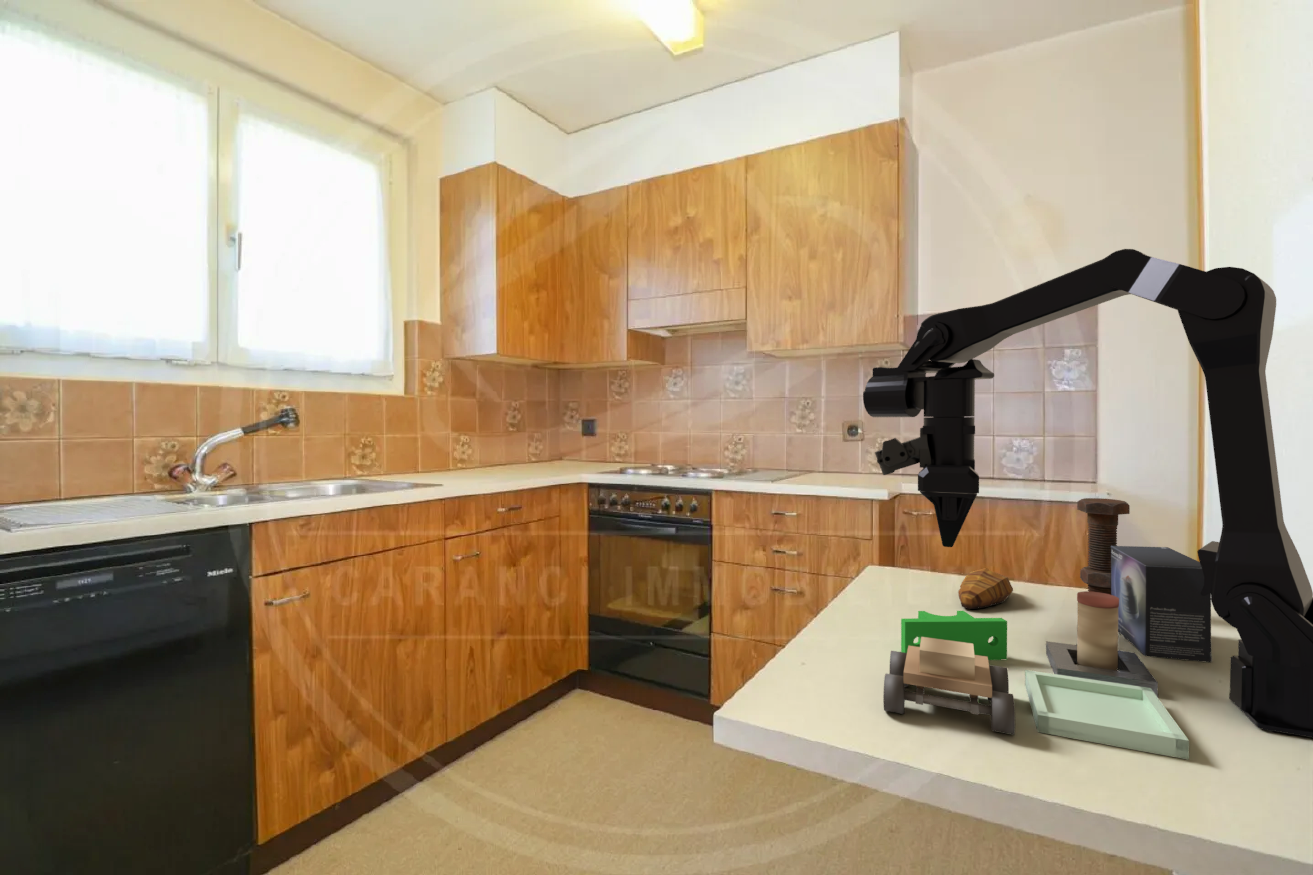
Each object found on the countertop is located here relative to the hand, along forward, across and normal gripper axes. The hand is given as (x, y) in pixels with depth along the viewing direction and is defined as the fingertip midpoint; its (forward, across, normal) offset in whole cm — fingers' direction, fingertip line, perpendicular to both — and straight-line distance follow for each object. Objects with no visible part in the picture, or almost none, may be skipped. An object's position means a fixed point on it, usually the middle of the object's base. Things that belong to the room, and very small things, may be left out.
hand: (947, 541), depth 76 cm
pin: (+11, +8, +14) cm, 20 cm away
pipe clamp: (+12, +8, 0) cm, 14 cm away
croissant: (+11, -15, +5) cm, 19 cm away
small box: (+11, -5, +22) cm, 25 cm away
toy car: (+11, +22, 0) cm, 25 cm away
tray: (+11, +19, +12) cm, 25 cm away
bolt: (+11, -17, +19) cm, 28 cm away
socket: (+11, +8, +14) cm, 20 cm away
